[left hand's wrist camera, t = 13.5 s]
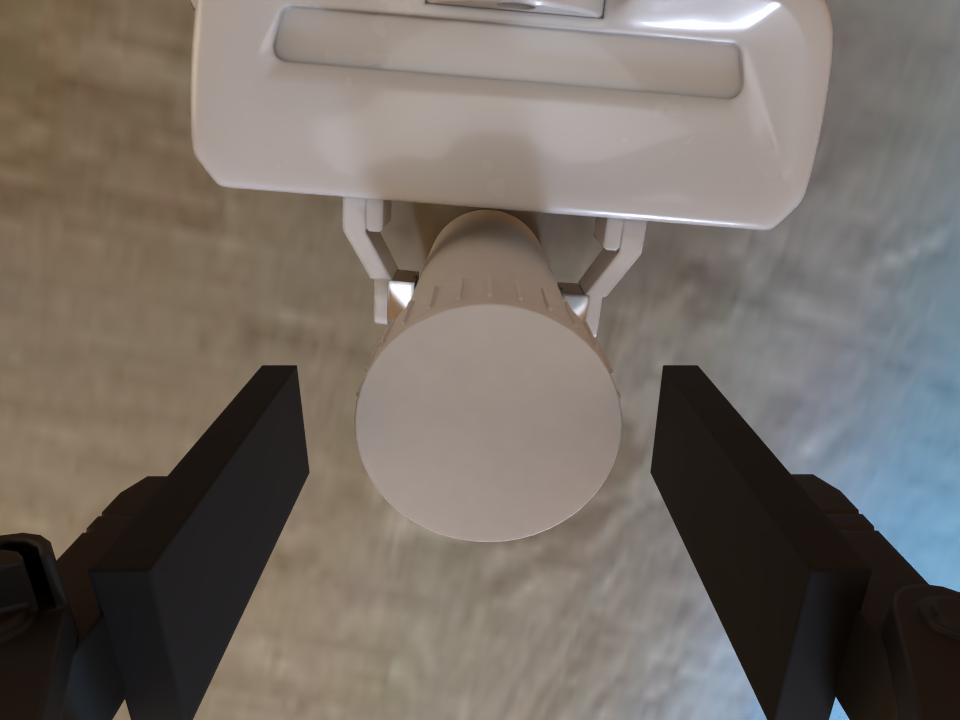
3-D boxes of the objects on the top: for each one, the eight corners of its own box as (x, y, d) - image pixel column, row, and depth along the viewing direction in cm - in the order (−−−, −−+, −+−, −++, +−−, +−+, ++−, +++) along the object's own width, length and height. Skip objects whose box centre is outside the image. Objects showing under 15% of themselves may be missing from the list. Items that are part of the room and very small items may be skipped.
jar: (434, 202, 28) (378, 297, 13) (552, 217, 28) (627, 326, 14) (423, 316, 30) (364, 508, 15) (534, 329, 30) (582, 532, 16)
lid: (377, 258, 15) (358, 283, 13) (627, 289, 15) (652, 318, 13) (363, 477, 17) (345, 531, 15) (582, 501, 18) (596, 556, 15)
